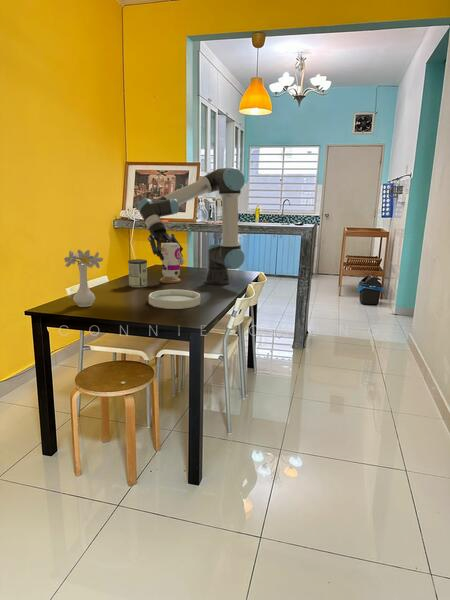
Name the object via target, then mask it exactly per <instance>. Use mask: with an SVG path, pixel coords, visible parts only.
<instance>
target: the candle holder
mask: <svg viewBox="0 0 450 600" xmlns="http://www.w3.org/2000/svg"><path fill="white" fill-rule="evenodd" d="M161 249H162V247H161ZM181 281H182V279H181V278H179V276H176V277H167V276H164V275H163V276H162V277H161V278H160V279H159V282H160V283H163V284H179V283H181Z"/></svg>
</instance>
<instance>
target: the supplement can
mask: <svg viewBox="0 0 450 600" xmlns="http://www.w3.org/2000/svg"><path fill="white" fill-rule="evenodd" d="M179 244H180V243H179ZM179 244H178V243H162V245H161V248H162V252H164V254H165V256H166V258H167V260H168V262H169V265H168V266H167V267H165V265H164V263H163V261H161V265H162V266H161V269H162V270H161V273H162V275H163V277H164V276H167V277H179V276H180V274H181V264H180V246H179ZM162 252H161V253H162Z"/></svg>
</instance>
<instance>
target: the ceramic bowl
mask: <svg viewBox="0 0 450 600" xmlns="http://www.w3.org/2000/svg"><path fill="white" fill-rule="evenodd" d="M148 304H149V305H150V306H152V307H155V308H161V309H166V310H168V309H177V310H179V309H182V310H183V309H189V308H195V307H197V306H200V305H201V293H199V292H197V291H194V290H188V289H187V290H186V289H163V290H162V289H161V290H160V289H159V290H156V291H153V292H150V293H149V295H148Z"/></svg>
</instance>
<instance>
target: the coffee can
mask: <svg viewBox="0 0 450 600" xmlns="http://www.w3.org/2000/svg"><path fill="white" fill-rule="evenodd" d="M127 262H128V263H127V264H128V286H129V287H130V286H131V287H130V288H144V287H148V260H147V259H141V258H138V259H137V258H135V259H128V260H127Z"/></svg>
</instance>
